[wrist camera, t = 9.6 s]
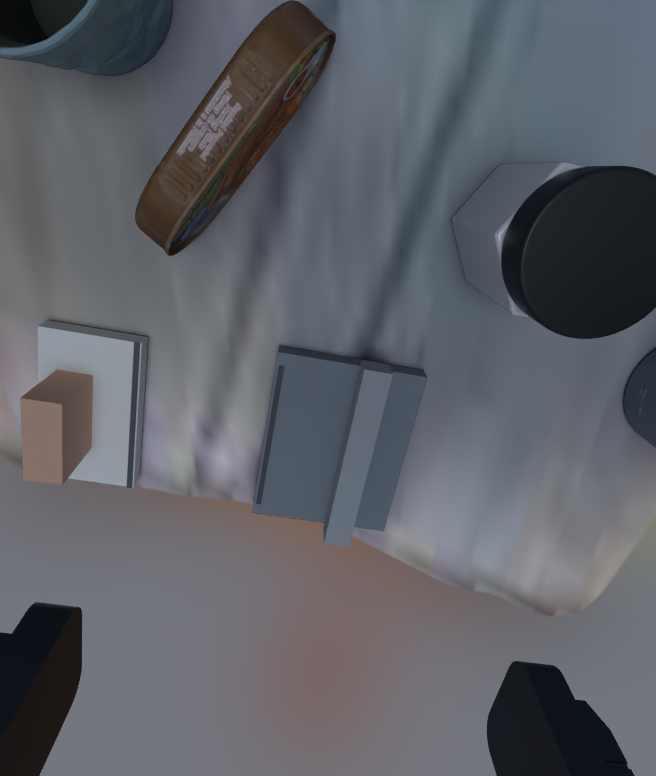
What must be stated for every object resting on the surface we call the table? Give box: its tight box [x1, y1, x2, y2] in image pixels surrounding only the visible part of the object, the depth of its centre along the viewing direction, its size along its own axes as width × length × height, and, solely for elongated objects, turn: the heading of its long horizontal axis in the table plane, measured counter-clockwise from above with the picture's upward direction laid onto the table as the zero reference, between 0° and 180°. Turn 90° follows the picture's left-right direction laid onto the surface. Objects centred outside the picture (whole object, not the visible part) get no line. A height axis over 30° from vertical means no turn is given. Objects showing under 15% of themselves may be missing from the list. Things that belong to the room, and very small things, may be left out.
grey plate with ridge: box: [252, 345, 427, 547], centre depth 40 cm, size 11×15×4 cm
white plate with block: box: [20, 320, 148, 488], centre depth 37 cm, size 7×12×6 cm, turn 169°
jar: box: [451, 162, 656, 339], centre depth 30 cm, size 9×8×12 cm
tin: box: [135, 0, 336, 256], centre depth 29 cm, size 15×3×8 cm, turn 139°
